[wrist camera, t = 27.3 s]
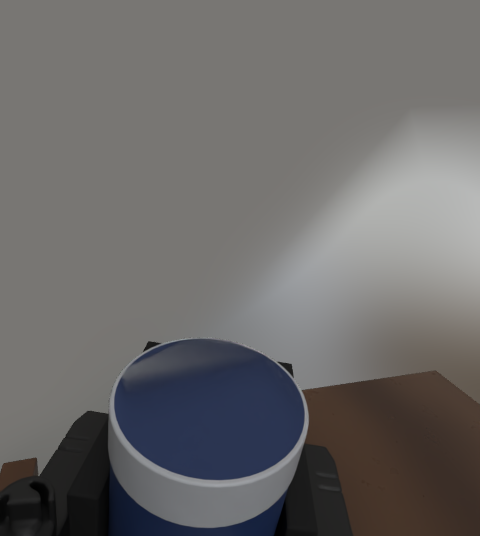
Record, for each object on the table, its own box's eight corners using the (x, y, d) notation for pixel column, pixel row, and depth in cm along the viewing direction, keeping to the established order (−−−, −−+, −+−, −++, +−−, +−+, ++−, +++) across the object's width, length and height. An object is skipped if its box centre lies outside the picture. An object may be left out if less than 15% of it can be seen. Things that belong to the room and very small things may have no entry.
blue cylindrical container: (69, 664, 10) (56, 417, 7) (159, 520, 14) (181, 320, 11) (204, 777, 9) (277, 537, 5) (261, 581, 13) (324, 373, 9)
